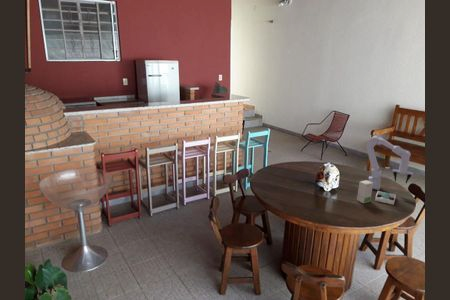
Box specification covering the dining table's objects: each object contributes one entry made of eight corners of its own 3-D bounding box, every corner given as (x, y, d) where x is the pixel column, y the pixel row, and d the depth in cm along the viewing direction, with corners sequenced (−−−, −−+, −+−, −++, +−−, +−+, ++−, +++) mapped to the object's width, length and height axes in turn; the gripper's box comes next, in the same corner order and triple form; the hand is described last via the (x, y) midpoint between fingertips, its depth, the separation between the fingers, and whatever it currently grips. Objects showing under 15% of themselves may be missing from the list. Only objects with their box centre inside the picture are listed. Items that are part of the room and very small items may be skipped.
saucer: (379, 199, 241) (379, 199, 241) (380, 196, 247) (380, 195, 246) (389, 202, 237) (389, 201, 237) (390, 198, 243) (390, 198, 243)
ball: (381, 199, 241) (381, 193, 240) (382, 196, 245) (382, 191, 244) (388, 200, 238) (388, 194, 237) (389, 198, 242) (389, 192, 241)
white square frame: (374, 200, 240) (375, 196, 239) (377, 194, 251) (377, 190, 250) (393, 204, 234) (394, 201, 233) (395, 198, 244) (395, 194, 243)
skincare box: (363, 203, 235) (366, 184, 230) (355, 200, 240) (358, 181, 235) (370, 201, 238) (373, 182, 234) (363, 197, 244) (366, 179, 239)
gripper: (393, 165, 246) (390, 181, 250) (414, 169, 239) (410, 185, 243) (393, 163, 252) (390, 178, 256) (414, 166, 244) (411, 182, 249)
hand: (400, 182), depth 250 cm, fingers open, 7 cm apart
